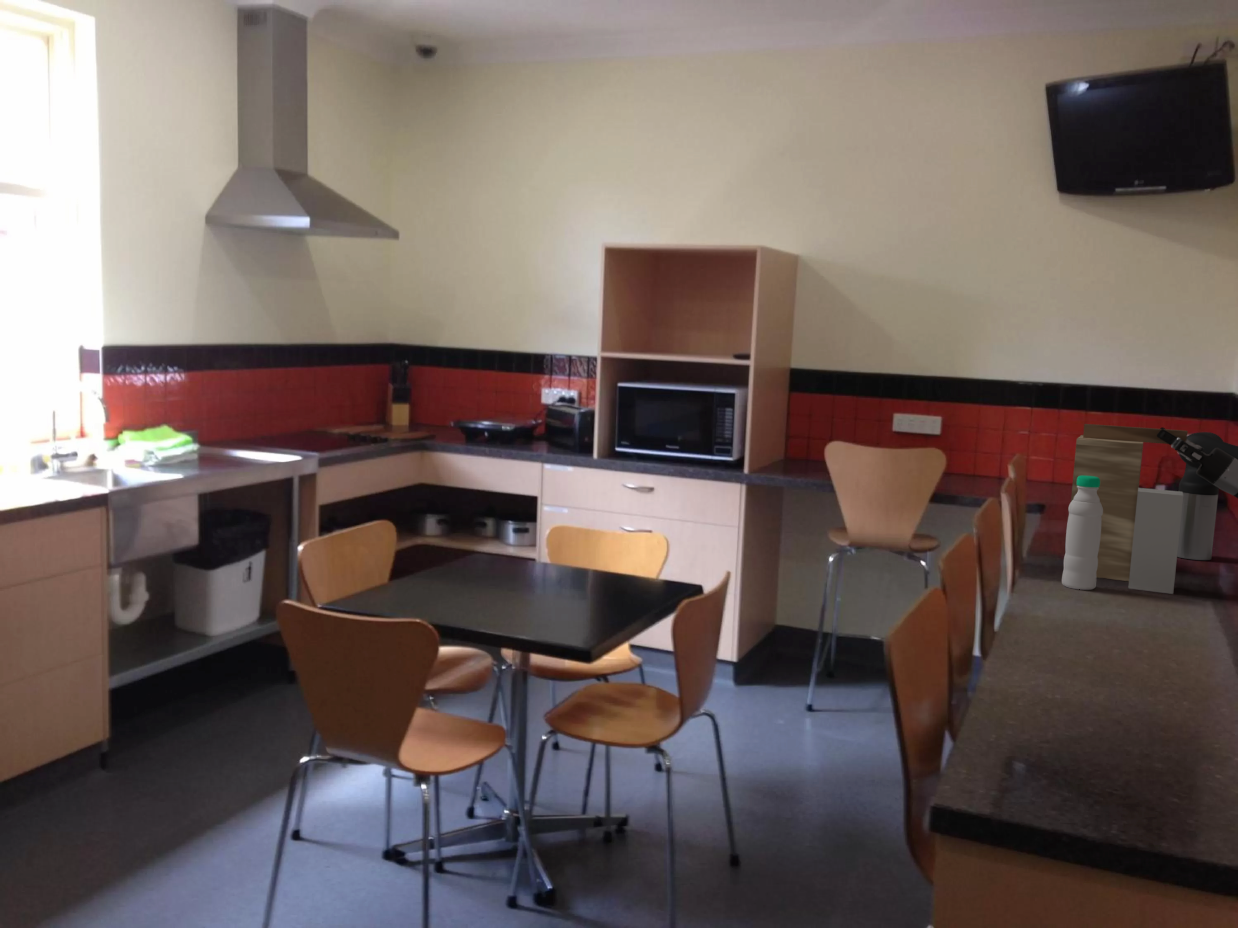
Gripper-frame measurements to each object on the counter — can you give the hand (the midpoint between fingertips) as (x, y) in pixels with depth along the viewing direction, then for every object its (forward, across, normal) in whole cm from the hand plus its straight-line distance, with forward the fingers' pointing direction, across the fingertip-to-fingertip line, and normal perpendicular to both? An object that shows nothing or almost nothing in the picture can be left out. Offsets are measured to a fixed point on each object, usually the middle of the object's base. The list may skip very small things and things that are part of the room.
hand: (1159, 431), depth 253 cm
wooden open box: (-9, 0, -35) cm, 36 cm away
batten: (+3, 0, -5) cm, 6 cm away
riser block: (-19, -14, -29) cm, 37 cm away
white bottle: (-6, -24, -37) cm, 44 cm away
